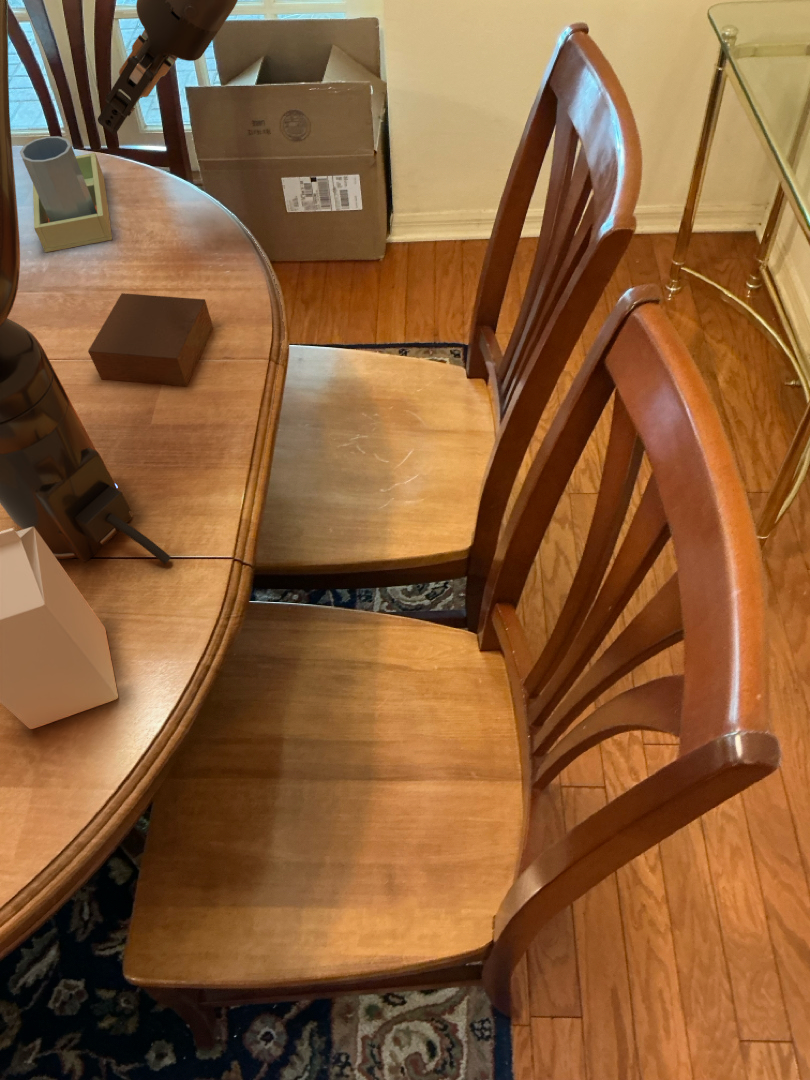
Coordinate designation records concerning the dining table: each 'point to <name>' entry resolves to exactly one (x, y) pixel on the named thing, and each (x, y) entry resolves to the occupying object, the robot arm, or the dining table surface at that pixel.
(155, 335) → the brown square block
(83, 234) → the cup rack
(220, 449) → the dining table surface
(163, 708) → the dining table surface
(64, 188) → the cup
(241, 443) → the dining table surface
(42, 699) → the milk carton
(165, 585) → the dining table surface
